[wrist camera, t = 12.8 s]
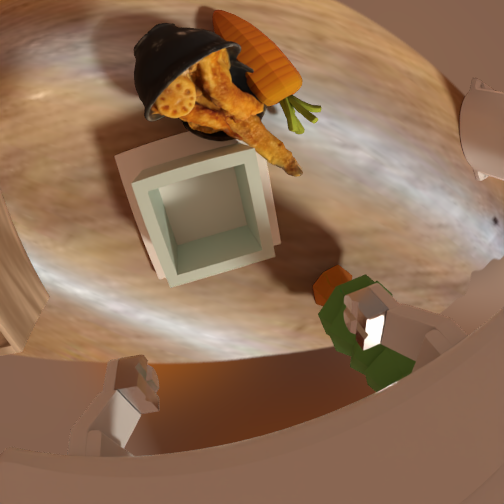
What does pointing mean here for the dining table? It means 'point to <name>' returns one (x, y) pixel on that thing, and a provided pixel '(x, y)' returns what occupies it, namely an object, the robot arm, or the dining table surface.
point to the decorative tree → (332, 317)
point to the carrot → (266, 68)
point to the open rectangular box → (200, 205)
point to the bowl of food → (204, 89)
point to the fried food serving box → (16, 288)
